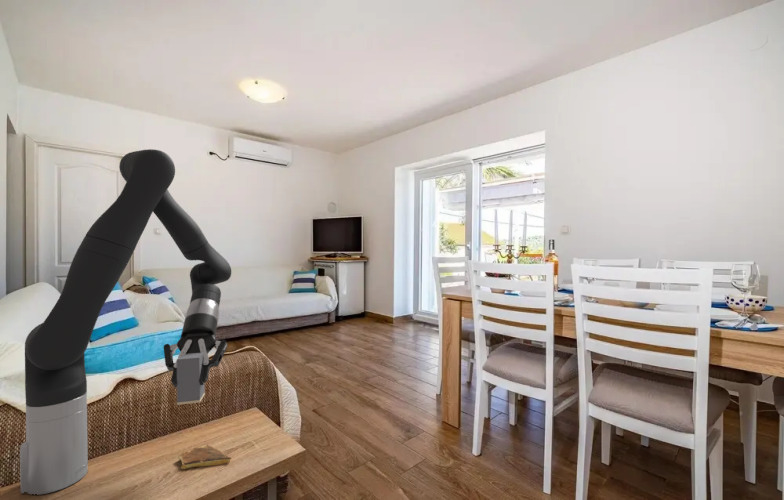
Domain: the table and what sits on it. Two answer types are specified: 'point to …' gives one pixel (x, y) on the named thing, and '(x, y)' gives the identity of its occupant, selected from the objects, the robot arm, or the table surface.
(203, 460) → the shard
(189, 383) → the sanding block
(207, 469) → the table surface
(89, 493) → the table surface
